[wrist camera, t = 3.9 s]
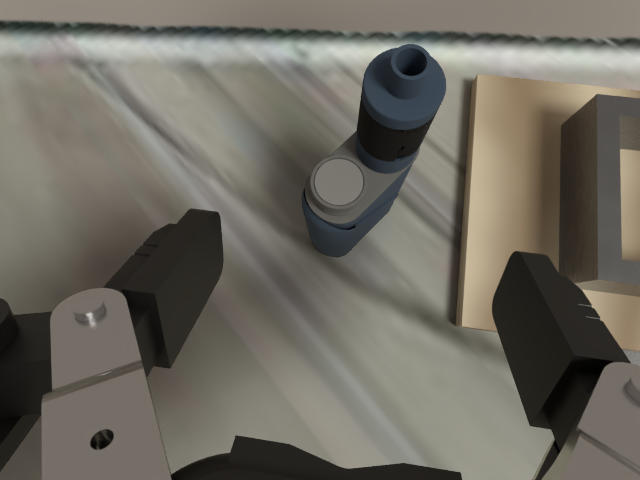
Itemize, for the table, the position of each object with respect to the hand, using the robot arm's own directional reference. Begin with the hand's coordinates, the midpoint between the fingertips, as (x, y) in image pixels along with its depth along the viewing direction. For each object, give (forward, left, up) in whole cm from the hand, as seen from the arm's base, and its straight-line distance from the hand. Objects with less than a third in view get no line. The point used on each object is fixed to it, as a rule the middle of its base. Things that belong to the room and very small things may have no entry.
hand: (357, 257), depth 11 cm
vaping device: (0, +4, -10) cm, 11 cm away
